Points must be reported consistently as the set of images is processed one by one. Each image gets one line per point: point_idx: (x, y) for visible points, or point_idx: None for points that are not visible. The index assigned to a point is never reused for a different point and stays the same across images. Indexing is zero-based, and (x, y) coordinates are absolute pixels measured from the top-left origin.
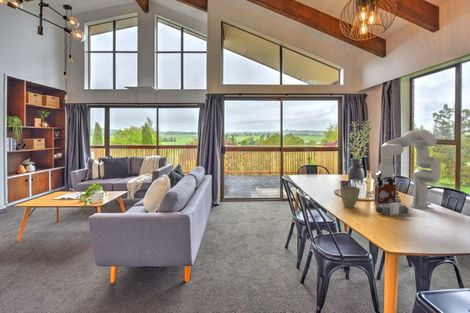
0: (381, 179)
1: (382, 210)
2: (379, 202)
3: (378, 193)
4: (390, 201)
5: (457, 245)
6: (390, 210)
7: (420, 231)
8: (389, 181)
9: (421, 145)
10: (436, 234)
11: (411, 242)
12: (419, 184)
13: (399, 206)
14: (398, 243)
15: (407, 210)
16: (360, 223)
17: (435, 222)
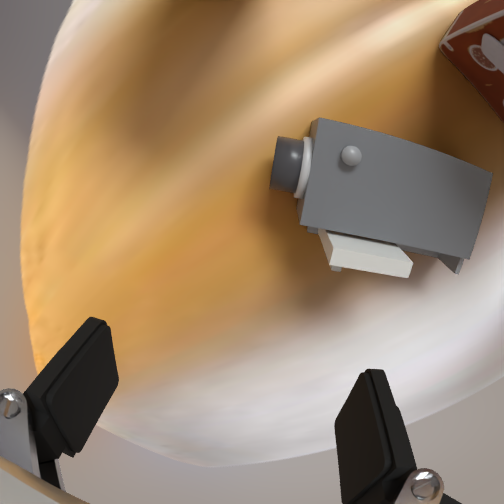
0: (45, 456)
1: (285, 191)
2: (458, 52)
3: (492, 27)
4: None
5: (218, 459)
6: (323, 234)
7: (222, 401)
8: (364, 438)
9: None
10: (248, 427)
11: (114, 409)
12: None
13: (422, 248)
14: None
15: (447, 263)
16: (54, 246)
17: (402, 373)
